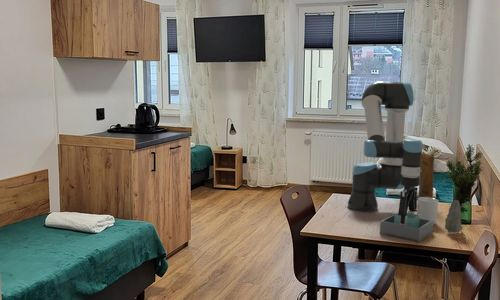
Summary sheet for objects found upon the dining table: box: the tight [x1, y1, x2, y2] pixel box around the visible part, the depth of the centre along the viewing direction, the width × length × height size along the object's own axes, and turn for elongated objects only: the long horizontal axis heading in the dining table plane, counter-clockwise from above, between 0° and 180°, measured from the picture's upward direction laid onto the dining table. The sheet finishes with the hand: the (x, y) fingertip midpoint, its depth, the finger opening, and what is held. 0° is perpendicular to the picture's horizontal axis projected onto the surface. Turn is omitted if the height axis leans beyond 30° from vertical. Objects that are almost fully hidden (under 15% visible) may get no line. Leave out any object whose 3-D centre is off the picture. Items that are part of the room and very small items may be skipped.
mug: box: [416, 197, 439, 225], centre depth 222 cm, size 12×9×11 cm
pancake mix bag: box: [417, 153, 435, 199], centre depth 252 cm, size 7×19×28 cm, turn 0°
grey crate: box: [379, 213, 434, 243], centre depth 204 cm, size 17×17×6 cm
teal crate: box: [394, 212, 420, 228], centre depth 204 cm, size 8×8×6 cm
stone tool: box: [444, 199, 463, 234], centre depth 206 cm, size 8×3×15 cm, turn 98°
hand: (406, 228), depth 204 cm, fingers closed on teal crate, 8 cm apart
